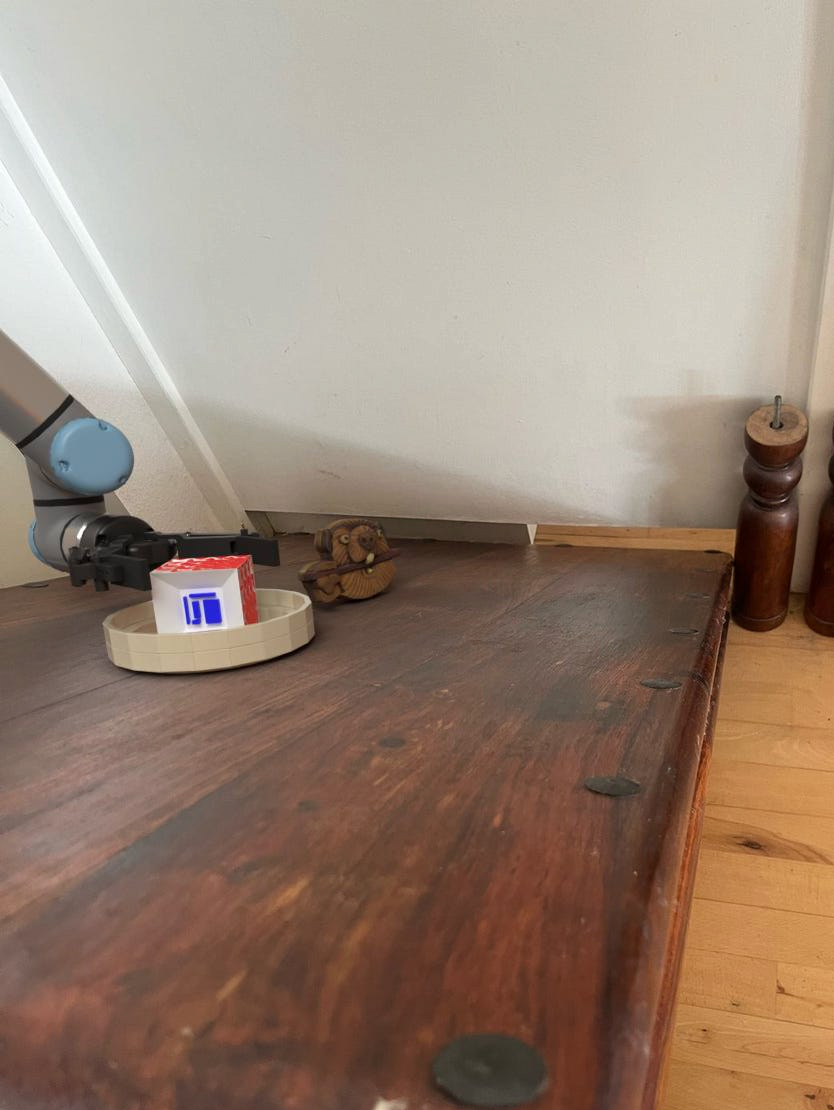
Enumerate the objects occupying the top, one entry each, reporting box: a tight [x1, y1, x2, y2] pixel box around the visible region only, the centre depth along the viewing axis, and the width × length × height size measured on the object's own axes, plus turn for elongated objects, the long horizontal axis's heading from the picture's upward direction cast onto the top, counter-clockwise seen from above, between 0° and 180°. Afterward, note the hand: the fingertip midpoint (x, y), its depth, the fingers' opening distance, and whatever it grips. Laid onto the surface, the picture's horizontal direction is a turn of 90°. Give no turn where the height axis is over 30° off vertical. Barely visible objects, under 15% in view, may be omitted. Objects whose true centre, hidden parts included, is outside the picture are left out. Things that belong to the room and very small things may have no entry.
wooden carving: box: [297, 518, 403, 604], centre depth 94 cm, size 16×5×10 cm, turn 150°
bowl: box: [102, 588, 316, 675], centre depth 76 cm, size 19×19×4 cm
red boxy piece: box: [150, 555, 259, 634], centre depth 75 cm, size 8×8×8 cm
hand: (215, 563), depth 73 cm, fingers open, 13 cm apart
